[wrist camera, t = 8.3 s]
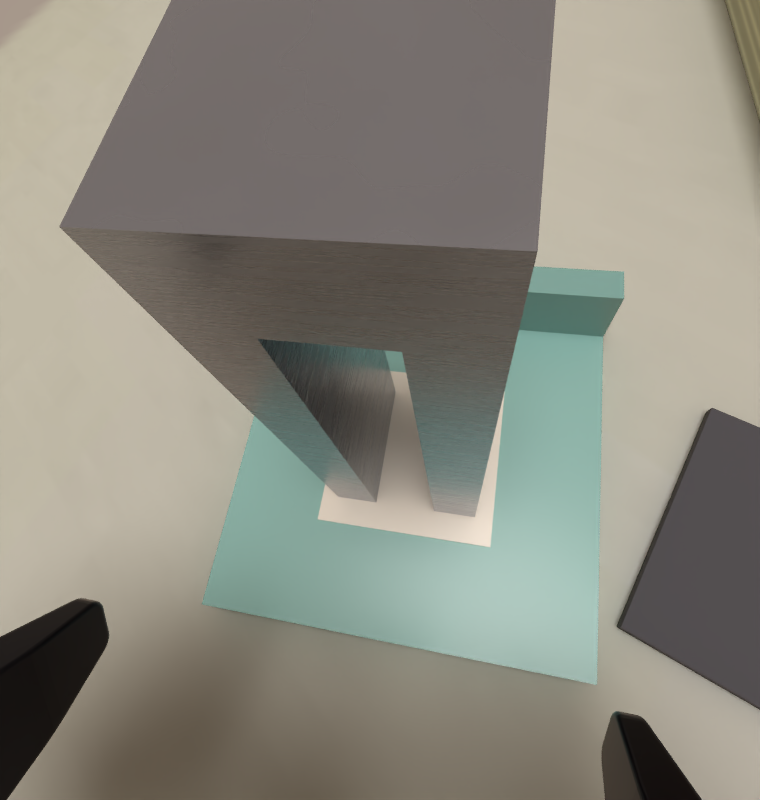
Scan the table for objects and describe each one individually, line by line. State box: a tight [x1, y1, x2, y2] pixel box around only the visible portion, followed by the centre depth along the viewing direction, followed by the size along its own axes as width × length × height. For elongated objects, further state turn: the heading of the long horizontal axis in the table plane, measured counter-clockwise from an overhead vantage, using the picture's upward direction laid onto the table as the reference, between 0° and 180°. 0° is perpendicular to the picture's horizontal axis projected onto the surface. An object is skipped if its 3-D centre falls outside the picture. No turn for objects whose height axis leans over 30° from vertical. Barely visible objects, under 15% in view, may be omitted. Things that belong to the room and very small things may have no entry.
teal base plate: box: [202, 267, 624, 685], centre depth 17 cm, size 12×12×4 cm
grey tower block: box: [60, 0, 556, 517], centre depth 11 cm, size 4×4×13 cm
